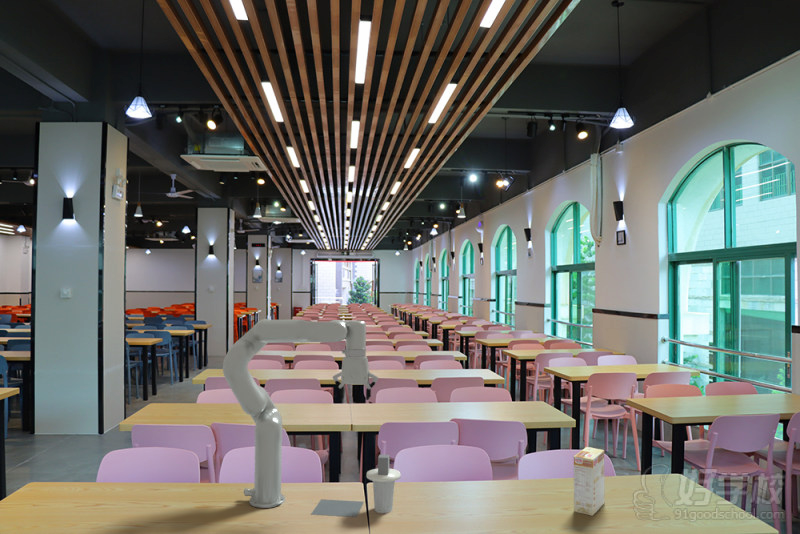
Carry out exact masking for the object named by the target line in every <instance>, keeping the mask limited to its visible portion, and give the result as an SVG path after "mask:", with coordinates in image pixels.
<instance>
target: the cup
mask: <svg viewBox="0 0 800 534" xmlns="http://www.w3.org/2000/svg"><path fill="white" fill-rule="evenodd" d="M395 483H396V481H392V482H376V481H372V488H373V502H374V503H373V505H374V511H375V512H376V513H380V514H387V513H390V512H393V503H394V492H395Z"/></svg>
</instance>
